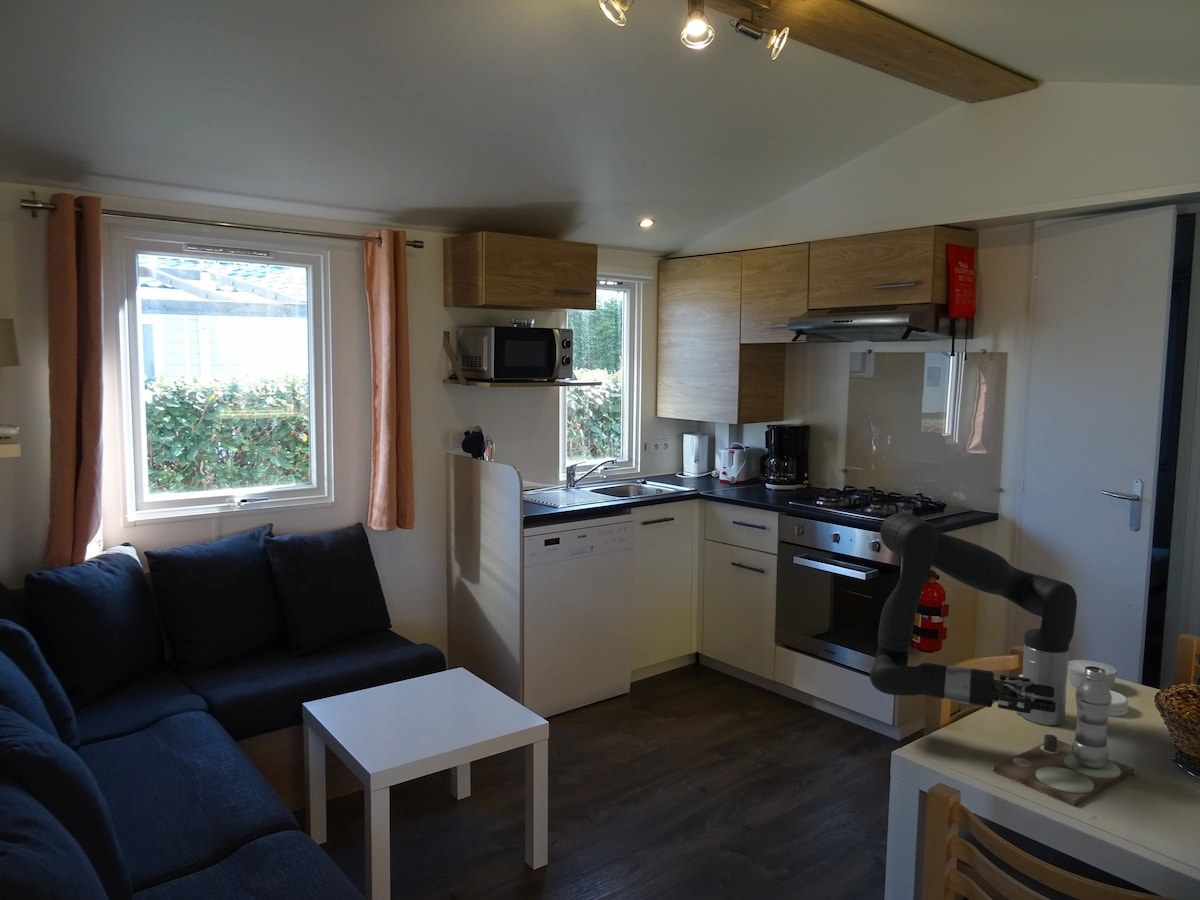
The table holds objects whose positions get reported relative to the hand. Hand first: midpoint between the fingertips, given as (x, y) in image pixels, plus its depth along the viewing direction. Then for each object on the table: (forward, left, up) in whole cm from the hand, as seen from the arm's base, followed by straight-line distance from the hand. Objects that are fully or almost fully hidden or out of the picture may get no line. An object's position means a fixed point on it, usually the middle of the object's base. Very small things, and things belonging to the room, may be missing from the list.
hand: (1054, 699), depth 171 cm
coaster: (-9, +40, -14) cm, 43 cm away
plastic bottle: (+6, +3, -13) cm, 14 cm away
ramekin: (-18, +52, -14) cm, 56 cm away
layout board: (+3, -1, -14) cm, 14 cm away
